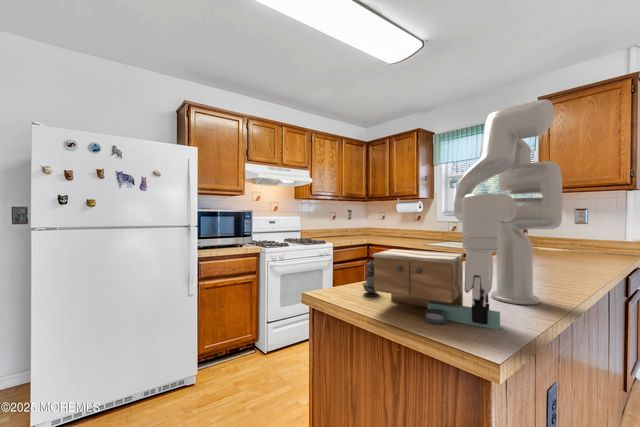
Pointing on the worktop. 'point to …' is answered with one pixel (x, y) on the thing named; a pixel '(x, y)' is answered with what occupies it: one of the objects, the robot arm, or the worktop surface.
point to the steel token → (436, 316)
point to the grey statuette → (370, 281)
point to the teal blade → (465, 314)
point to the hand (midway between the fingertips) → (480, 320)
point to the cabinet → (419, 276)
